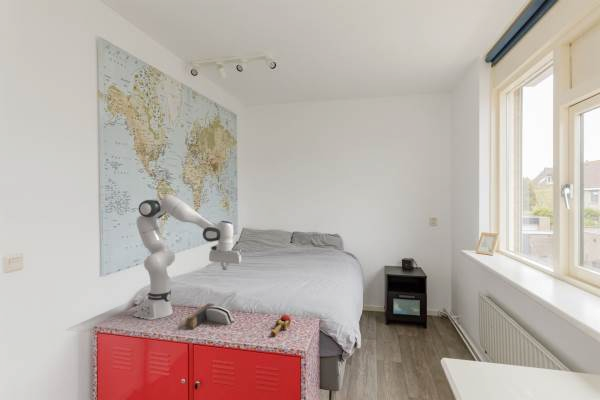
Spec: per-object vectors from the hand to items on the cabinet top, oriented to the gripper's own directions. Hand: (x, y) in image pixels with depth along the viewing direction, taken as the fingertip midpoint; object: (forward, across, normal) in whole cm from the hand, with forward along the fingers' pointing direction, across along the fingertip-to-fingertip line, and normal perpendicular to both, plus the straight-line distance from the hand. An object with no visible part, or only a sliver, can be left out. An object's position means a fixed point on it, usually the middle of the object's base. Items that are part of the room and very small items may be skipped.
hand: (224, 269), depth 185 cm
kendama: (+27, -41, +13) cm, 51 cm away
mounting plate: (+28, +6, +11) cm, 31 cm away
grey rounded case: (+28, -2, +9) cm, 30 cm away
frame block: (+28, +9, +11) cm, 32 cm away
